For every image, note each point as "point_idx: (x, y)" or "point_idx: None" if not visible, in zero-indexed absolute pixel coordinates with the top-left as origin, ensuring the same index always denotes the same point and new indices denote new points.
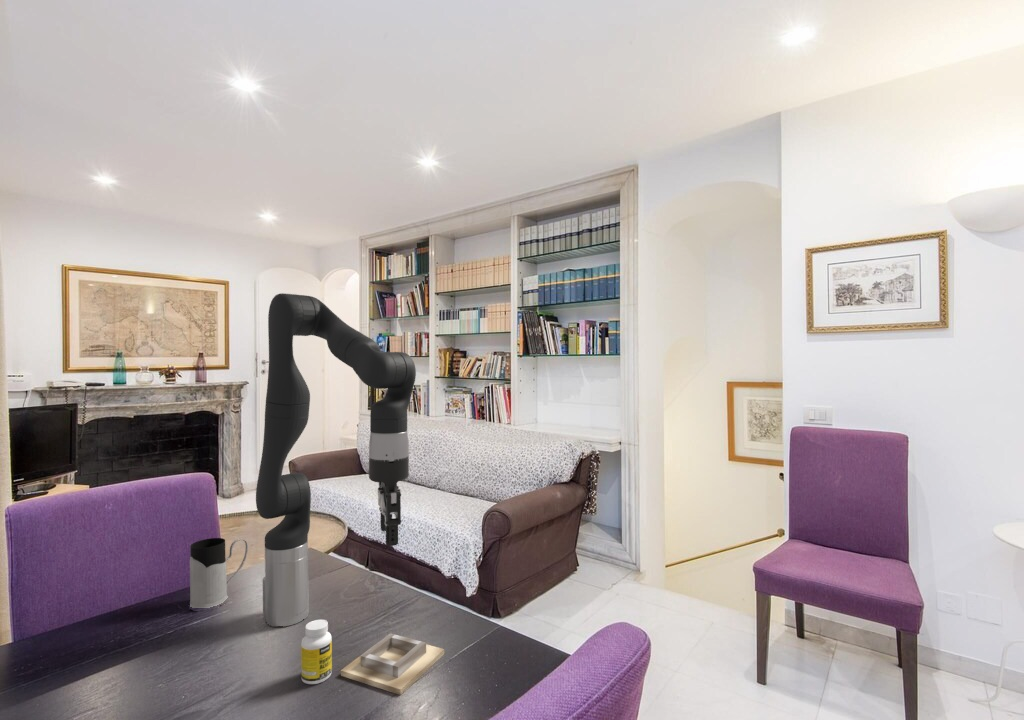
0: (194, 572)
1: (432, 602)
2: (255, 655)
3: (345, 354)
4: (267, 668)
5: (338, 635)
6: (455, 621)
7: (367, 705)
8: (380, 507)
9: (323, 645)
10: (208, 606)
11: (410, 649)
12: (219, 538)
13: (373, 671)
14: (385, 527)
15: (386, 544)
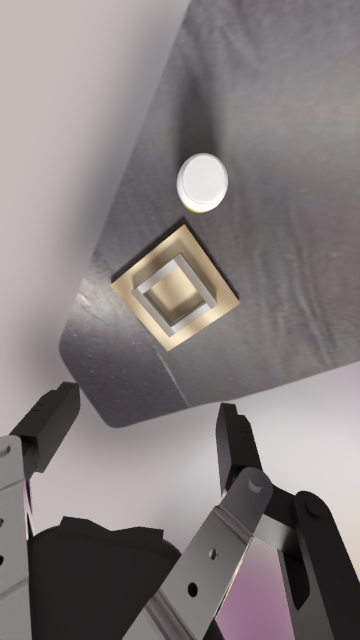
0: None
1: (299, 375)
2: (323, 87)
3: None
4: (265, 111)
5: (295, 238)
6: (232, 382)
7: (108, 244)
8: (234, 493)
9: (178, 193)
10: None
11: (180, 317)
12: None
13: (160, 264)
14: (221, 421)
15: (62, 383)
